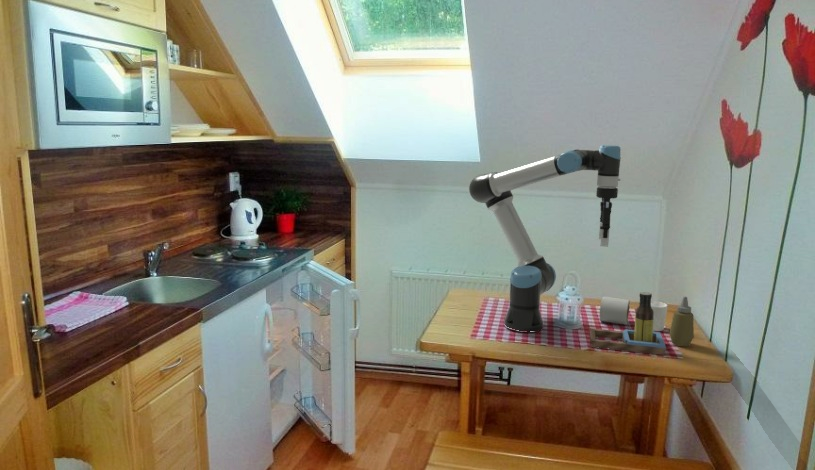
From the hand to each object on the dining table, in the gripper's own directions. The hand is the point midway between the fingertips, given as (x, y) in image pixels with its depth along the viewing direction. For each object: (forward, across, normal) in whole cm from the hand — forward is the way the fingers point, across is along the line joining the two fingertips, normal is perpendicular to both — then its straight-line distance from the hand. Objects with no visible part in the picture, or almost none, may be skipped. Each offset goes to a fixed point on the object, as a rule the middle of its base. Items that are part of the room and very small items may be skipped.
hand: (603, 242), depth 223 cm
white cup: (+35, +8, -22) cm, 42 cm away
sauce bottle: (+35, -13, -15) cm, 40 cm away
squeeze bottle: (+35, -7, -29) cm, 46 cm away
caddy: (+35, -14, -10) cm, 38 cm away
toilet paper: (+35, +11, -7) cm, 37 cm away
